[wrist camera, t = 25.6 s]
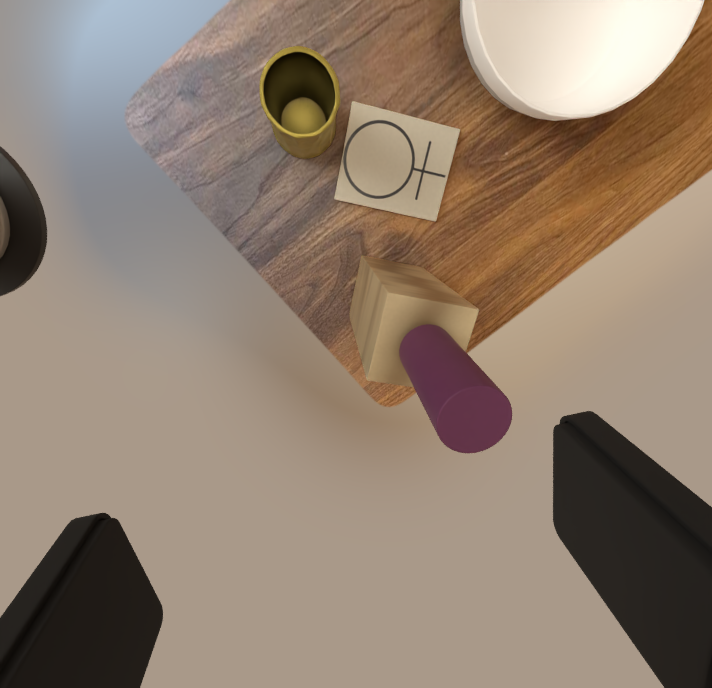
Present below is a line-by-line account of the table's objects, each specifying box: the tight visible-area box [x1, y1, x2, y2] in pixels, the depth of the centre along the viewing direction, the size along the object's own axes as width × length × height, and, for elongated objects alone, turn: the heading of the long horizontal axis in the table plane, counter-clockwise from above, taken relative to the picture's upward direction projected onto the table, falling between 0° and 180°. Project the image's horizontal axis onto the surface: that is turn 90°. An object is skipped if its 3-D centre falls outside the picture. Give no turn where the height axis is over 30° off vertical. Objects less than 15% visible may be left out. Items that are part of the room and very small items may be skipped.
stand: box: [349, 255, 479, 387], centre depth 39 cm, size 7×7×17 cm
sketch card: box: [334, 101, 460, 222], centre depth 42 cm, size 11×9×1 cm
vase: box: [260, 46, 340, 159], centre depth 33 cm, size 6×6×14 cm
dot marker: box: [399, 324, 512, 453], centre depth 26 cm, size 4×4×11 cm
